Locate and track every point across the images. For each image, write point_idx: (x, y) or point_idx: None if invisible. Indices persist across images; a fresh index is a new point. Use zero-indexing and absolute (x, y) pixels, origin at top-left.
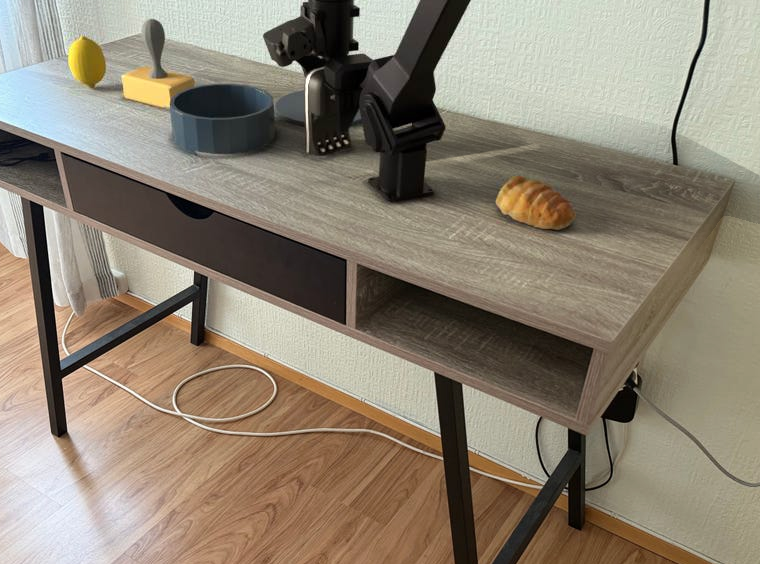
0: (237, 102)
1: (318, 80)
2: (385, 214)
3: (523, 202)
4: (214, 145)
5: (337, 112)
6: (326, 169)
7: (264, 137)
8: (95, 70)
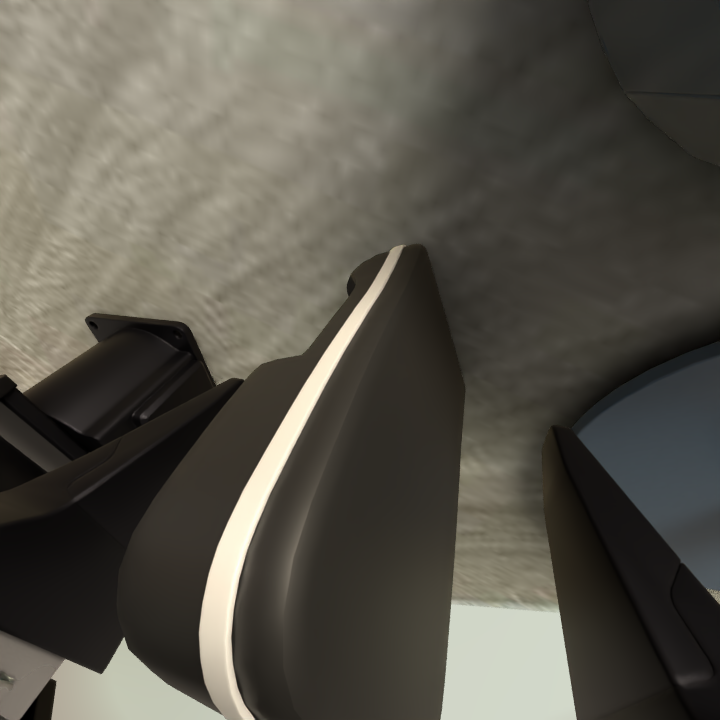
0: None
1: (127, 588)
2: (43, 281)
3: None
4: None
5: (157, 430)
6: (278, 259)
7: (616, 24)
8: None
